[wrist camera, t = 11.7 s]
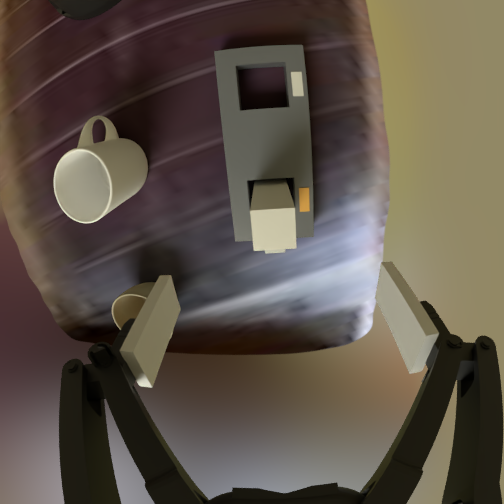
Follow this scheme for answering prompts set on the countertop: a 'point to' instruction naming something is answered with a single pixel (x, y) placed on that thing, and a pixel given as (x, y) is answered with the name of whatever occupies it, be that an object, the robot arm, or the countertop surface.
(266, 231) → the plug
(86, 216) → the mug
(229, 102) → the panel
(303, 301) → the countertop surface
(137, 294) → the flower pot
